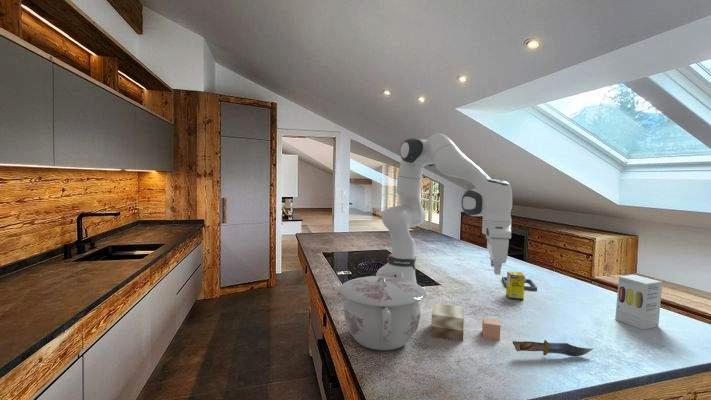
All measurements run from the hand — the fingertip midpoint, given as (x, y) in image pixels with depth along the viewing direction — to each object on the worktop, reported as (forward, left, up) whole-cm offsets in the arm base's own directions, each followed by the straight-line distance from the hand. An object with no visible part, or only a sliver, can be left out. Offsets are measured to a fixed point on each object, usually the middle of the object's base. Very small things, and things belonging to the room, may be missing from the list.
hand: (495, 270), depth 110 cm
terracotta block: (-1, -1, -22) cm, 22 cm away
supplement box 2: (+52, +27, -22) cm, 63 cm away
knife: (+16, -9, -22) cm, 29 cm away
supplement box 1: (+13, +41, -22) cm, 49 cm away
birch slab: (-15, -3, -19) cm, 24 cm away
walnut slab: (-15, -3, -23) cm, 27 cm away
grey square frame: (+18, +61, -22) cm, 68 cm away
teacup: (+17, +61, -23) cm, 67 cm away
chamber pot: (-35, -15, -22) cm, 44 cm away
